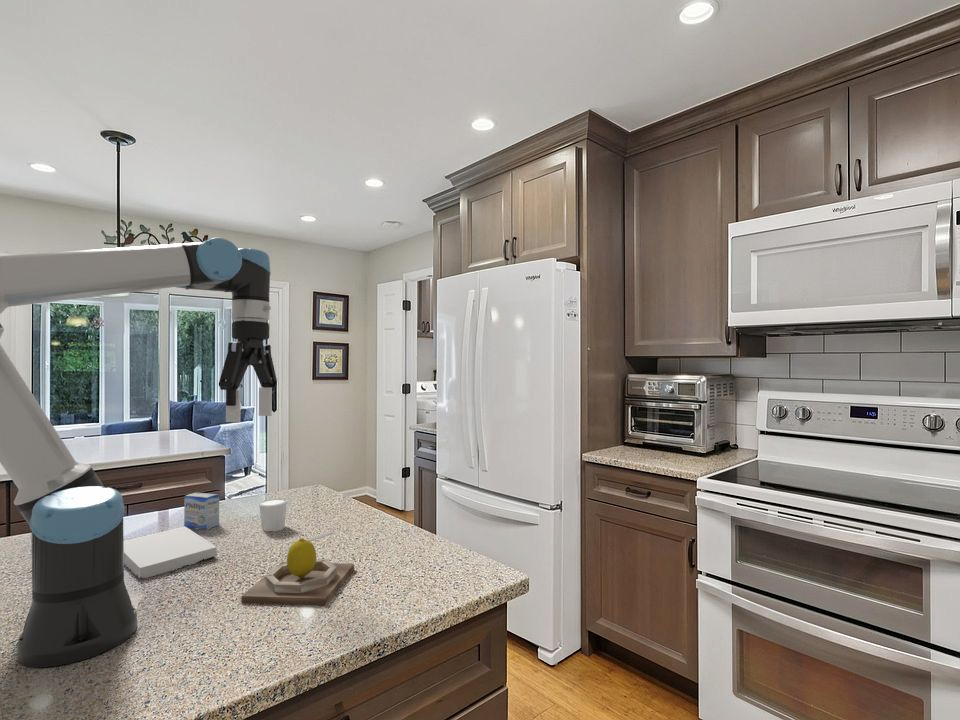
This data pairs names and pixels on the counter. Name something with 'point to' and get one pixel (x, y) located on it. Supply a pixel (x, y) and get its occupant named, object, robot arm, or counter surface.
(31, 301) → the robot arm
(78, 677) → the counter surface
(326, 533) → the butter knife
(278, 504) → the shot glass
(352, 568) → the lemon holder
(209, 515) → the medicine box
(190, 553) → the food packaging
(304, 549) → the lemon
